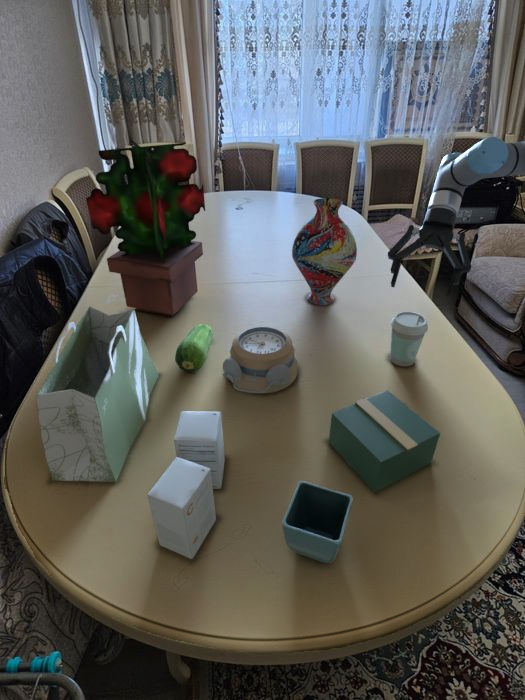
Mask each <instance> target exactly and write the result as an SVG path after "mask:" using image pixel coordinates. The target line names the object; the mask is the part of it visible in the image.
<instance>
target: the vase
mask: <svg viewBox="0 0 525 700" xmlns="http://www.w3.org/2000/svg"><path fill="white" fill-rule="evenodd" d="M313 205H314V206H315V208H316V212H315V214H314V216H313V217H311V218H310V219H309V220H308V221H306V222H305V223H304V224H303V226H302V227H300V230H299V231H298V232H297V234H296V236H295V238H294V240H293V242H292V243H293V244H292V248H291V256H292V260H293V262H294V264H295V265H296V267H297V269H298V270H299V272H300V273H301V276H302V277H303V279H304V280H305V282H306V283H307V285H308V286H309V290H310V292H311V293H310V294H309V295H307V297H306V298H307V301H308V302H309V303H311V304H313V305H317V306H327V305H329V304H333V302H334V301H335V297H334V296H333V295H332V294H331V293H332V292H333V289H334V288H335V287H336V286H337V285H338V283H340V281H341V280H342V279H343V277H345V275H346V274H347V273H348V272H349V270H350V269H351V268H352V267H353V265H354V263H355V262H356V261H357V255H358V247H357V242H356V238H355V235H354V234H353V232H352V230H351V228H350V227H349V225H348V224H347V223H346V222H345V221H344V220H343V219H342V218H341V217H340V215H339V210H340V208H341V206H342V205H343V201H342V200H340V199H339V198H331V197H321V198H316V199H315V200H313Z"/></svg>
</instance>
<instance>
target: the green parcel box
mask: <svg viewBox="0 0 525 700" xmlns="http://www.w3.org/2000/svg"><path fill="white" fill-rule="evenodd" d="M330 417H331V418H330V425H329V426H330V427H329V436H328V444H329V445H330V446H331V447H332V448H333V450H335V451H336V452H337V453H338V455H340V457H341V458H342V459H343V461H345V462H346V463H347V464H348V465H349V466H350V468H352V470H353V471H354V472H355V473H356V474H357V475H358V476H359V477H360V478H361V479H362V481H364V483H365V484H366V485H367V486H368V487H369V488H370V489H371V490H372V491H373V493H377V492H379V491H381V490H383V489H385V488H387V487H388V486H391V485H392V484H395V483H396V482H398V481H399V480H403V478H405V477H408V476H410V475H411V474H413V473H415V472H417V471H419V470H420V469H423V468H424V467H426V466H428V465H430V464H432V462H433V458H434V456H435V452H436V450H437V446H438V445H437V444H438V442H439V439H440V436H441V432H440V431H438V429H436V428H435V427H434V426H432V424H430V423H429V422H427V421H426V420H425V419H424V418H423V417H422V416H420V415H419V414H418V413H416V411H414V410H412V408H410V407H409V406H408V405H407V404H405V403H404V402H403V401H402V400H400V399H399V398H398V397H397V396H395V395H394V394H393V393H392V392H391V391H390V390H388V389H387V390H384V391H381V392H380V393H377V394H374V395H372V396H369V397H368V398H365V397H363V398H360V399H357V400H356V401H354V403H353V404H351V405H348V406H346V407H343V408H340V409H339V410H336V411H334V412H331V416H330Z"/></svg>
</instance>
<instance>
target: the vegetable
mask: <svg viewBox="0 0 525 700" xmlns="http://www.w3.org/2000/svg"><path fill="white" fill-rule="evenodd" d="M213 336H214V333H213V331H212V327H211V325H208V324H205V323H204V324H202V323H198V324H197V325H196V326H194V327H193V328H192V329H191V330H190V331H189V332H188V333H187V335H186V337H185V338H184V339H183V340H182V341H181V342H180V343H179V345H178V346H177V348H176V352H175V355H174V357H175V358H174V361H175V363H176V365H177V367H178V368H179V369H180V370H182V371H184V372H195V371H197V370H199V369H201V368H202V367H203V366H204V363H205V361H206V360H207V355H208V351H209V349H210V344H211V340H212V338H213Z"/></svg>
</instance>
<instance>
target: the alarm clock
mask: <svg viewBox="0 0 525 700" xmlns="http://www.w3.org/2000/svg"><path fill="white" fill-rule="evenodd" d="M295 350H296V349H295V346H294V344H293V339H292V338H291V337H290V335H288V333H286V332H284V331H282V330H280V329H278V328H275V327H267V326H257V327H252V328H247V329H245V330H242V331H240V332H239V333H238V334H237V335H235V337H234V338H233V339H232V343H231V345H230V350H229V352H230V355H229V357H228V358H225V359H224V361H223V363H222V370H223V373H222V377H226V378H227V379H228V380H229V381H231V383H232V386H233V388H234V389H235V390H237V391H238V392H239V391H240V392H243V393H247V394H249V393H250V394H270V393H276V392H279V391H282V390H284V389H286V388H287V387H289V386H290V385H291V384H293V382H295V380H296V378H297V376H298V364H299V363H298V362H299V361H298V359H297V356H296V354H295V352H296V351H295Z"/></svg>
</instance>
